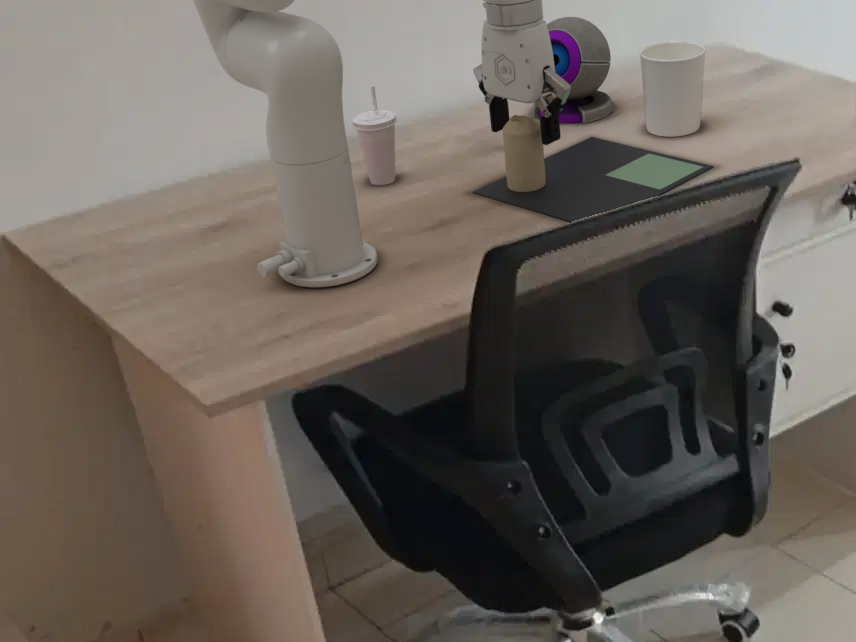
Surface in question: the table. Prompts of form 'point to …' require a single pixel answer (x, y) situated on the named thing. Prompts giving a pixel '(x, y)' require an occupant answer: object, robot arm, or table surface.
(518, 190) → the candle
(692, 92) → the candle holder
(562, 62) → the webcam
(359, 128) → the smoothie
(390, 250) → the table surface
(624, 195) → the desk pad
